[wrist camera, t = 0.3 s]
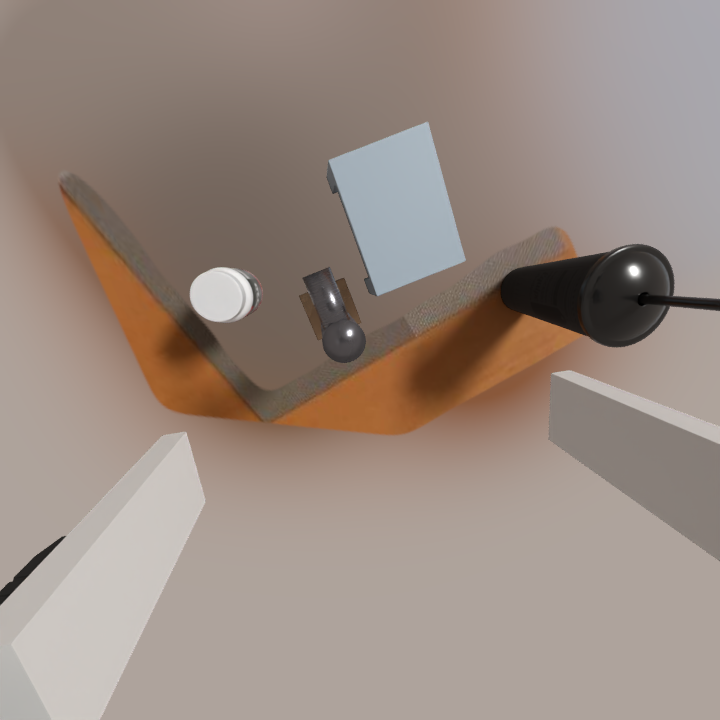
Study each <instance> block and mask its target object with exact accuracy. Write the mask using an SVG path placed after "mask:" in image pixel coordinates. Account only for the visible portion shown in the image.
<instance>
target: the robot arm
mask: <svg viewBox="0 0 720 720" xmlns="http://www.w3.org/2000/svg"><path fill="white" fill-rule="evenodd" d="M549 440H550V441H552V442H553V443H554V444H556V445H557V446H558V447H560V448H561V449H563V450H564V451H565V452H567V453H568V454H570V455H571V456H572V457H574V458H575V459H577V460H578V461H579V462H581V463H582V464H584V465H585V466H586V467H588V468H589V469H591V470H592V471H594V472H595V473H596V474H598V475H599V476H601V477H602V478H603V479H605V480H606V481H608V482H609V483H611V484H612V485H613V486H615V487H616V488H617V489H619V490H620V491H622V492H623V493H625V494H626V495H627V496H629V497H630V498H631V499H633V500H634V501H636V502H637V503H639V504H640V505H641V506H643V507H644V508H646V509H647V510H648V511H650V512H651V513H653V514H654V515H655V516H657V517H658V518H660V519H661V520H663V521H664V522H665V523H667V524H668V525H670V526H671V527H672V528H674V529H675V530H676V531H678V532H679V533H681V534H682V535H684V536H685V537H687V538H688V539H689V540H691V541H692V542H693V543H695V544H696V545H698V546H699V547H700V548H702V549H703V550H705V551H706V552H707V553H709V554H710V555H712V556H713V557H715V558H716V559H717V560H719V561H720V427H719V426H717V425H714V424H711V423H708V422H706V421H703V420H700V419H698V418H695V417H693V416H690V415H687V414H685V413H682V412H679V411H677V410H674V409H672V408H669V407H666V406H664V405H661V404H658V403H656V402H653V401H650V400H648V399H645V398H642V397H640V396H637V395H634V394H632V393H629V392H627V391H624V390H621V389H619V388H616V387H613V386H611V385H608V384H605V383H602V382H600V381H597V380H595V379H592V378H589V377H587V376H584V375H582V374H579V373H576V372H573V371H571V370H568V371H562V372H556V373H551V390H550V416H549ZM205 502H206V500H205V497H204V493H203V490H202V486H201V483H200V479H199V475H198V472H197V468H196V465H195V461H194V458H193V454H192V451H191V447H190V444H189V440H188V437H187V433H186V432H181V433H175V434H169V435H163V436H162V437H161V438H159V440H158V441H157V442H156V443H155V444H154V445H153V446H152V447H151V448H150V449H149V450H148V451H147V452H146V453H145V454H144V455H143V456H142V457H141V458H140V459H139V461H138V462H137V463H136V464H135V465H134V466H133V467H132V468H131V469H130V470H129V471H128V472H127V473H126V474H125V475H124V476H123V477H122V478H121V479H120V480H119V481H118V483H117V484H116V485H115V486H114V487H113V488H112V489H111V490H110V491H109V492H108V493H107V494H106V495H105V496H104V497H103V498H102V499H101V500H100V501H99V502H98V504H97V505H96V506H95V507H94V508H93V509H92V510H91V511H90V512H89V513H88V514H87V515H86V516H85V517H84V518H83V519H82V520H81V521H80V522H79V524H78V525H77V526H76V527H75V528H74V529H73V530H72V531H71V532H70V533H69V534H68V535H67V536H64V537H61V538H60V539H58V540H57V541H55V542H54V543H53V544H51V545H50V546H49V547H47V548H46V549H44V550H43V551H42V552H40V553H39V554H37V555H36V556H35V557H34V558H33V559H32V560H31V561H30V562H29V563H28V564H27V565H26V566H25V567H24V568H23V569H22V570H21V571H20V572H19V573H18V574H17V575H16V576H15V577H14V580H13V582H9V583H8V584H7V585H6V586H5V587H4V588H3V589H2V590H1V591H0V720H100V718H101V716H102V714H103V712H104V710H105V708H106V706H107V704H108V702H109V699H110V697H111V696H112V693H113V691H114V689H115V687H116V685H117V683H118V680H119V679H120V677H121V675H122V673H123V671H124V669H125V667H126V665H127V662H128V661H129V658H130V656H131V654H132V652H133V650H134V648H135V646H136V644H137V642H138V640H139V638H140V636H141V633H142V632H143V630H144V627H145V625H146V623H147V621H148V619H149V617H150V615H151V613H152V611H153V609H154V607H155V605H156V603H157V601H158V599H159V597H160V595H161V592H162V590H163V588H164V586H165V584H166V582H167V580H168V578H169V576H170V574H171V572H172V570H173V568H174V566H175V564H176V561H177V560H178V558H179V555H180V553H181V551H182V549H183V547H184V545H185V543H186V541H187V539H188V537H189V535H190V533H191V531H192V529H193V526H194V525H195V522H196V520H197V518H198V516H199V514H200V512H201V510H202V508H203V506H204V504H205Z"/></svg>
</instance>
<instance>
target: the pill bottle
mask: <svg viewBox="0 0 720 720" xmlns="http://www.w3.org/2000/svg"><path fill="white" fill-rule="evenodd" d="M262 297H263V291H262V287H261V284H260V282H259V281H258V279H257V278H256V277H255V276H254V275H252V274H251V273H250V272H248V271H246V270H243V269H236V268H226V267H219V268H214V269H211V270H209V271H207V272H205V273H203V274H201V275H199V276H198V277H197V278H196V279H195V280H194V282H193V283H192V285H191V288H190V300H191V303H192V306H193V307H194V309H195V310H196V312H197V313H198V314H199V315H201V316H202V317H203V318H205V319H207V320H210V321H214V322H222V323H232V322H236V321H239V320H241V319H242V318H244V317H246V316H248V315H249V314H251V313H253V312H254V311H255V310H256V309H257V308H258V307H259V306H260V304H261V302H262Z"/></svg>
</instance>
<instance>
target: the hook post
mask: <svg viewBox="0 0 720 720" xmlns="http://www.w3.org/2000/svg"><path fill="white" fill-rule="evenodd" d="M303 280H304V283H305V285H306V288H307V290H308V292H307V293H304V294H302V295H299V297H300V300H301V302H302V304H303V307H304V309H305V311H306V313H307V316H308V318H309V320H310V323H311V325H312V328H313V329H314V332H315V335H316V337H317V339H318V340H320V339H322V342H323V348H324V351H325V352H326V354H327V355H328V356H329V357H330V358H331V359H332V360H334V361H336V362H340V363H347V362H351V361H354V360H355V359H357V358H358V357H359V356H360V355H361V354H362V352H363V351H364V348H365V344H366V339H365V334H364V332H363V330H362V329H361V328H360V326H359V325H358V324H360V323H361V321H360V318H359V315H358V313H357V310H356V307H355V305H354V302H353V300H352V297H351V294H350V292H349V289H348V287H347V284H346V282H345V279H344V278H342V279H340V280H337V281H335V279H334V277H333V274H332V272H331V269H330V267H329V268H326V269H324V270H321V271H319V272H316V273H313V274H311V275H309V276H306V277H303Z"/></svg>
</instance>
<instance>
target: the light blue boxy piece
mask: <svg viewBox="0 0 720 720" xmlns="http://www.w3.org/2000/svg"><path fill="white" fill-rule="evenodd" d="M327 180H328V182H329V185H330V188H331V190H332V193H333V194H334V193H336V192H338V194H339V197H340V199H341V202H342V205H343V208H344V210H345V213H346V216H347V219H348V222H349V224H350V227H351V230H352V233H353V235H354V238H355V241H356V244H357V246H358V249H359V252H360V255H361V257H362V260H363V263H364V266H365V269H366V271H367V274H368V278H365V279H364V281H365V283H366V286H367V289H368V292H369V293H370V294H372V295H375V296H379V295H382V294H384V293H387V292H389V291H392V290H394V289H397V288H399V287H402V286H404V285H407V284H409V283H412V282H414V281H417V280H419V279H421V278H424V277H427V276H429V275H432V274H434V273H437V272H439V271H442V270H444V269H447V268H449V267H452V266H454V265H457V264H459V263H462V262H464V261H465V257H464V253H463V249H462V245H461V242H460V238H459V234H458V231H457V227H456V223H455V220H454V216H453V212H452V209H451V205H450V201H449V198H448V194H447V190H446V187H445V183H444V179H443V176H442V172H441V168H440V165H439V161H438V157H437V153H436V150H435V146H434V142H433V139H432V135H431V131H430V128H429V124H428V122H426V123H423V124H420V125H418V126H415V127H413V128H410V129H408V130H405V131H402V132H400V133H397V134H395V135H392V136H390V137H387V138H385V139H382V140H379V141H377V142H374V143H372V144H369V145H366V146H364V147H361V148H359V149H356V150H354V151H351V152H348V153H346V154H343V155H341V156H338V157H336V158H333V159H330V160H329V161H328V169H327Z"/></svg>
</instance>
